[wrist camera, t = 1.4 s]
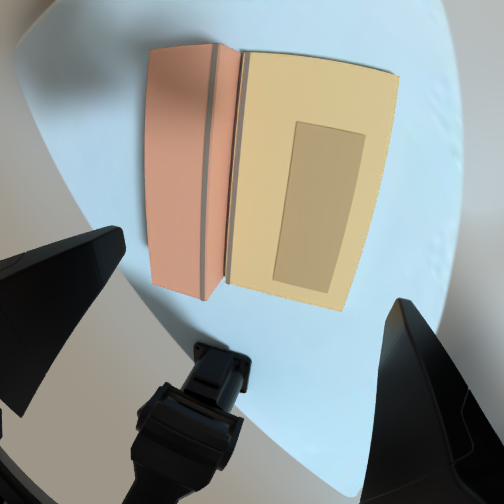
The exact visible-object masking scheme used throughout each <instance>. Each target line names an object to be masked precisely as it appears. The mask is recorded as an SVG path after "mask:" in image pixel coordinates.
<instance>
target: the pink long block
mask: <svg viewBox="0 0 504 504" xmlns="http://www.w3.org/2000/svg"><path fill="white" fill-rule="evenodd" d="M240 61H241V53H239V52H237V51H235V50H233V49H231V48H229V47H227V46H225V45H223V44H219V43H213V44H199V45H185V46H175V47H166V48H158V49H151V50H150V56H149V66H148V78H147V92H146V111H145V199H146V218H147V233H148V246H149V257H150V267H151V277H152V284H154V285H157V286H160V287H163V288H166V289H169V290H172V291H176V292H179V293H182V294H185V295H188V296H191V297H195V298H198V299H201V301H207V300H208V298H209V297H210V295H211V294H212V292H213V291H214V290H215V288H216V287H217V285H218V284H219V283H220V281H221V280H222V278H223V270H224V252H225V236H226V220H227V206H228V192H229V179H230V166H231V154H232V142H233V131H234V120H235V109H236V99H237V89H238V79H239V70H240Z"/></svg>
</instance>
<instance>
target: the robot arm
mask: <svg viewBox="0 0 504 504" xmlns="http://www.w3.org/2000/svg"><path fill="white" fill-rule="evenodd" d="M125 252H126V245H125V239H124V234H123V230H122V228H120V227H117V226H113V225H111V226H107V227H103V228H100V229H97V230H93V231H90V232H86V233H83V234H80V235H77V236H73V237H70V238H67V239H63V240H60V241H57V242H54V243H51V244H48V245H45V246H42V247H39V248H36V249H33V250H30V251H27V252H26V253H25V252H24V253H22V254H19V255H15V256H13V257H10V258H7V259H4V260H0V399H1V400H2V401H3V402H4V403H5V404H6V405H7V406H8V407H9V408H10V409H11V410H12V411H14V412H15V413H16V414H17V415H18V416H19V417H20V418H22V416H23V415H24V413H25V411H26V409H27V408H28V406H29V404H30V402H31V400H32V398H33V396H34V395H35V393H36V391H37V389H38V387H39V386H40V384H41V382H42V380H43V379H44V377H45V375H46V373H47V372H48V370H49V368H50V366H51V365H52V363H53V362H54V360H55V358H56V357H57V355H58V354H59V352H60V350H61V349H62V347H63V346H64V344H65V343H66V341H67V339H68V338H69V336H70V335H71V333H72V332H73V330H74V328H75V327H76V326H77V324H78V323H79V322H80V320H81V318H82V317H83V316H84V314H85V313H86V311H87V310H88V308H89V307H90V306H91V304H92V303H93V301H94V300H95V299H96V297H97V296H98V295H99V293H100V292H101V290H102V289H103V287H104V286H105V285H106V283H107V282H108V280H109V278H110V277H111V275H112V273H113V272H114V270H115V268H116V267H117V265H118V264H119V262H120V261H121V259H122V258H123V256H124V254H125ZM194 361H195V366H194V367H193V369H192V371H191V372H190V374H189V376H188V377H187V379H186V381H185V382H184V384H183V386H182V387H181V389H180V390H179V389H177V388H175V387H174V386H172V385H171V384H170V383H168V382H165V383H164V385H163V386H160V387H159V388H158V389H157V391H156V392H155V394H154V395H153V396H152V397H151V399H150V400H149V401H147V402H146V403H145V404H144V405H143V406H142V407H141V408H140V409H139V410H138V411H137V416H138V421H137V425H136V430H137V431H139V433H138V435H137V437H136V439H135V441H134V443H133V445H132V447H131V460H133V464H134V471H135V481H134V483H133V485H132V486H131V488H130V490H129V492H128V493H127V495H126V497H125V499H124V501H123V502H122V504H177V503H178V501H179V500H180V499H182V498H184V497H186V496H188V495H190V494H192V493H194V492H197V491H199V490H201V489H202V488H204V487H205V486H207V485H208V484H209V483H210V481H211V479H212V477H213V475H214V473H215V471H216V469H217V470H220V471H222V470H223V469H224V468H225V467H226V465H227V463H228V461H229V459H230V458H231V455H232V453H233V451H234V448H235V446H236V442H237V440H238V437H239V433H240V430H241V427H242V424H243V421H244V418H242V417H237V416H235V415H232V414H230V412H231V410H232V408H233V406H234V403H235V401H236V399H237V396H238V394H239V392H240V393H246V391H247V388H248V382H249V376H250V370H251V364H252V361H251V360H250V359H249V358H246V357H242V356H239V355H236V354H232V353H229V352H226V351H223V350H220V349H217V348H214V347H211V346H208V345H205V344H202V343H199V342H196V343H195V344H194ZM1 438H2V409H1V408H0V439H1ZM0 504H58V503H56V502H55V501H54V500H53V499H52V498H50V497H49V496H48V495H47V494H46V493H45V492H44V491H43V490H41V489H40V488H39V487H38V486H37V485H36V484H35V483H34V482H33V481H32V480H31V479H30V478H29V477H28V476H27V475H26V474H25V473H24V472H23V471H22V470H21V469H20V468H19V467H18V466H17V465H16V464H15V463H14V461H13V460H12V459H11V458H10V457H9V456H8V455H7V454H6V452H5V451H4V450H3V449H2V448H1V446H0ZM359 504H504V446H503V444H502V442H501V440H500V439H499V437H498V436H497V434H496V433H495V431H494V429H493V428H492V426H491V424H490V423H489V421H488V419H487V418H486V416H485V415H484V413H483V411H482V410H481V408H480V406H479V404H478V403H477V401H476V399H475V397H474V396H473V394H472V392H471V390H470V389H468V386H467V384H466V382H465V381H464V379H463V377H462V376H461V374H460V372H459V371H458V369H457V368H456V366H455V364H454V363H453V361H452V359H451V358H450V356H449V355H448V353H447V352H446V350H445V349H444V347H443V346H442V344H441V343H440V341H439V340H438V338H437V337H436V335H435V334H434V332H433V331H432V329H431V328H430V326H429V325H428V324H427V322H426V321H425V319H424V318H423V317H422V315H421V314H420V312H419V311H418V310H417V308H416V307H415V305H414V304H413V303H412V302H411V301H410V300H408V299H403V298H397V299H396V301H395V302H394V304H393V306H392V308H391V310H390V312H389V314H388V316H387V318H386V321H385V326H384V334H383V342H382V349H381V355H380V362H379V368H378V379H377V393H376V404H375V414H374V423H373V431H372V439H371V446H370V452H369V458H368V464H367V470H366V475H365V480H364V485H363V490H362V494H361V498H360V503H359Z"/></svg>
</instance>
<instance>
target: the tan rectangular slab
mask: <svg viewBox="0 0 504 504" xmlns="http://www.w3.org/2000/svg"><path fill="white" fill-rule="evenodd" d="M399 77H400V76H397V75H394V74H390V73H386V72H383V71H379V70H375V69H371V68H366V67H362V66H358V65H353V64H348V63H343V62H337V61H332V60H325V59H319V58H312V57H304V56H296V55H286V54H273V53H256V52H244V58H243V67H242V76H241V85H240V95H239V105H238V115H237V126H236V137H235V148H234V160H233V172H232V184H231V197H230V211H229V225H228V239H227V255H226V271H225V283H226V284H232V285H236V286H240V287H244V288H247V289H251V290H255V291H259V292H263V293H266V294H270V295H274V296H278V297H282V298H286V299H290V300H294V301H298V302H302V303H306V304H311V305H315V306H319V307H323V308H327V309H331V310H336V311H340V312H342V310H343V307H344V305H345V302H346V299H347V296H348V294H349V291H350V288H351V285H352V282H353V279H354V276H355V273H356V270H357V267H358V264H359V261H360V257H361V254H362V251H363V248H364V244H365V241H366V238H367V234H368V231H369V227H370V223H371V220H372V216H373V212H374V209H375V205H376V201H377V197H378V193H379V189H380V185H381V180H382V176H383V171H384V167H385V162H386V158H387V153H388V148H389V142H390V137H391V132H392V126H393V120H394V114H395V107H396V101H397V93H398V86H399Z"/></svg>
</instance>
